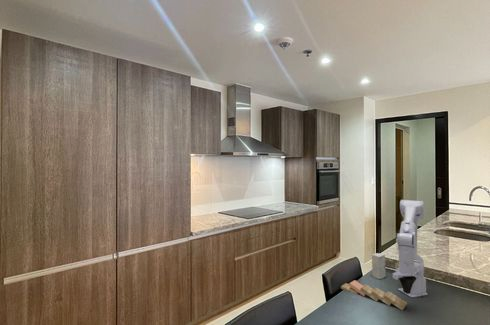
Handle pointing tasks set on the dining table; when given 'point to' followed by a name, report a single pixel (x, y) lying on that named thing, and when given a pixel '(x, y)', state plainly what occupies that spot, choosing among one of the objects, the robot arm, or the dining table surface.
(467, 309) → the dining table surface
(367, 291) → the domino
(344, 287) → the domino
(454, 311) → the dining table surface
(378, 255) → the skincare box
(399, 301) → the domino
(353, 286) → the domino
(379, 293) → the domino
